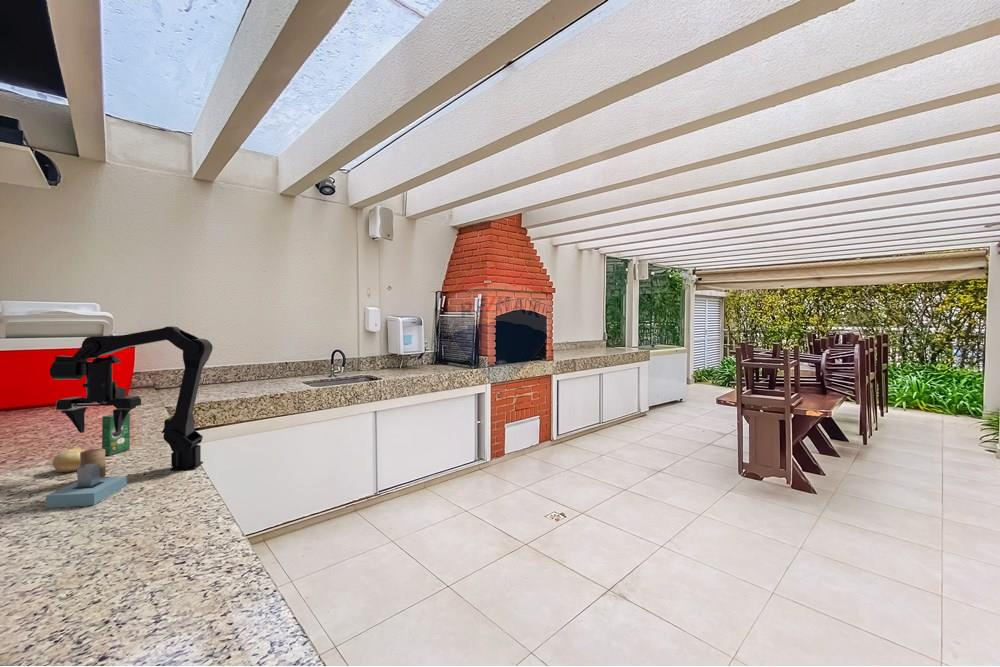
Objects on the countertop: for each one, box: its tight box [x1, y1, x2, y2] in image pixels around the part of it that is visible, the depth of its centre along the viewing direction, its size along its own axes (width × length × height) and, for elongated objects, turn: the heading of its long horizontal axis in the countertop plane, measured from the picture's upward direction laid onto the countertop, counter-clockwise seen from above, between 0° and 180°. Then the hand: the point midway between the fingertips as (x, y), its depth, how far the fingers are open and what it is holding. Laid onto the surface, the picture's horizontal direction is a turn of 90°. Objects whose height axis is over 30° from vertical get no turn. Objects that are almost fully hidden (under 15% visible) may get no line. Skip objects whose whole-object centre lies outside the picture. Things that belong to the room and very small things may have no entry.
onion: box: [52, 445, 85, 473], centre depth 132 cm, size 8×8×7 cm
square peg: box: [76, 464, 100, 489], centre depth 112 cm, size 3×3×8 cm
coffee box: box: [101, 412, 131, 456], centre depth 149 cm, size 8×3×13 cm, turn 178°
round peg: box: [80, 448, 107, 477], centre depth 124 cm, size 5×5×8 cm
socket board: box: [45, 475, 128, 509], centre depth 112 cm, size 10×12×3 cm
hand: (100, 432), depth 129 cm, fingers open, 9 cm apart
